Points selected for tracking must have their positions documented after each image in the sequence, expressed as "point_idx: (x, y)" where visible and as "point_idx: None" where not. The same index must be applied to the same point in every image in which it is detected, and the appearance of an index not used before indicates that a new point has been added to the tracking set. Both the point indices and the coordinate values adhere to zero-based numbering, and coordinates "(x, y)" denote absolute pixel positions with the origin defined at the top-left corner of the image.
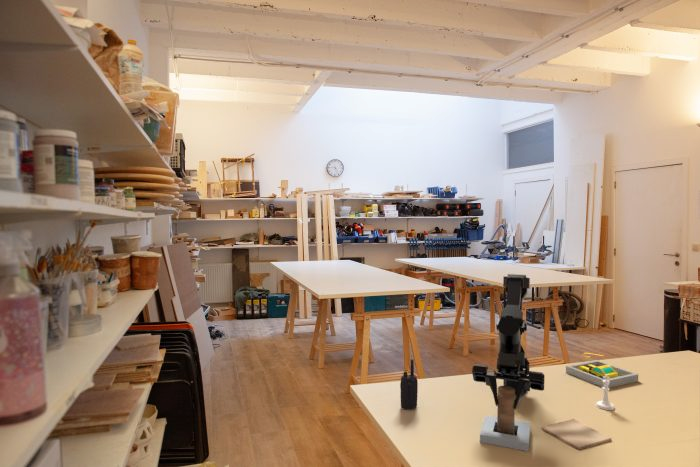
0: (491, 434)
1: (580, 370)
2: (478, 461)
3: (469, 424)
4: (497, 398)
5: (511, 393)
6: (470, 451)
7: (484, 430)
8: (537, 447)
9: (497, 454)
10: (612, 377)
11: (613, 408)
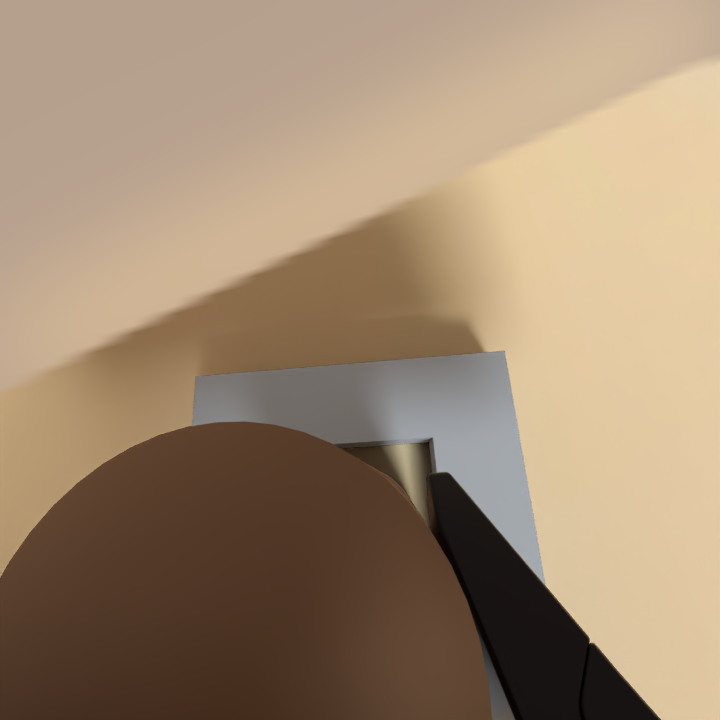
0: (433, 388)
1: None
2: (444, 182)
3: (647, 603)
4: (441, 535)
5: (105, 482)
6: (508, 246)
7: (493, 426)
8: None
9: (371, 281)
10: None
11: None
